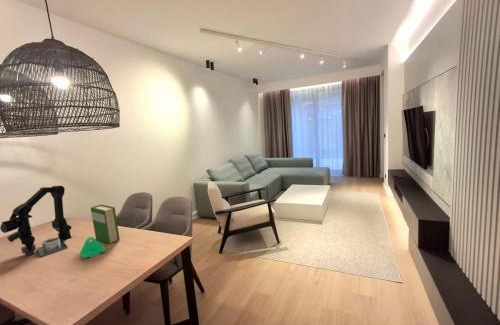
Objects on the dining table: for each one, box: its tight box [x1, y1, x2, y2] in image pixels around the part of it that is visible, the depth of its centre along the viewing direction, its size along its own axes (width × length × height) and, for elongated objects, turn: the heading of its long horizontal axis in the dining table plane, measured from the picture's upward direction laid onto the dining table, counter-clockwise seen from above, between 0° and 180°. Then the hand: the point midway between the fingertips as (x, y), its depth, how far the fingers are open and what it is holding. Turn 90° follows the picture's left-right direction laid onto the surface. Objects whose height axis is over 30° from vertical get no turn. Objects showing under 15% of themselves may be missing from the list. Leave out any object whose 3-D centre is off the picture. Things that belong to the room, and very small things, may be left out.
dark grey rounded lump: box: [20, 243, 37, 257], centre depth 159 cm, size 7×7×6 cm
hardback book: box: [90, 204, 120, 245], centre depth 171 cm, size 18×7×24 cm, turn 57°
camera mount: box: [80, 236, 106, 259], centre depth 152 cm, size 12×8×10 cm, turn 134°
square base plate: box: [36, 237, 69, 258], centre depth 164 cm, size 14×16×6 cm
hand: (28, 249), depth 159 cm, fingers open, 9 cm apart
